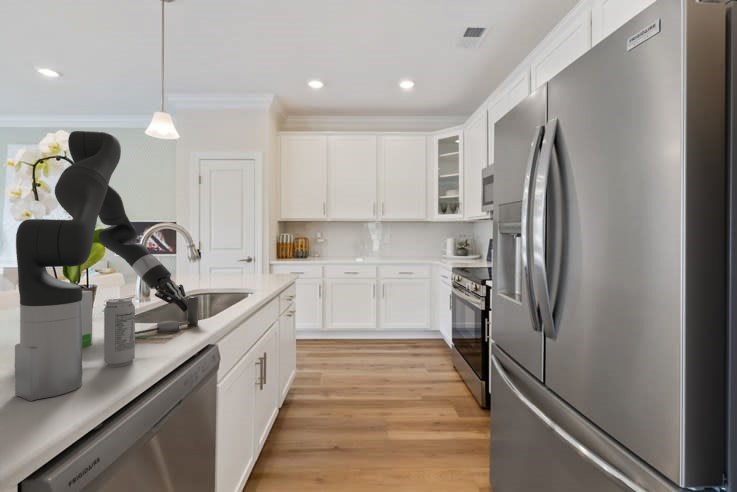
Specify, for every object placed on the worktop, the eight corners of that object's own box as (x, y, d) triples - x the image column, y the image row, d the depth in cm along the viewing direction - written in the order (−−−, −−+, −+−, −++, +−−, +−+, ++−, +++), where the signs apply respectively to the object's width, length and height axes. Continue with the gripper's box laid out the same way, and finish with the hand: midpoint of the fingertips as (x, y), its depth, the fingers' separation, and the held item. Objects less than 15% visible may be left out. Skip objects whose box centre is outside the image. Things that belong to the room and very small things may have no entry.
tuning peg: (191, 322, 123) (191, 295, 123) (202, 324, 120) (202, 297, 119) (129, 334, 107) (129, 303, 106) (140, 337, 103) (140, 306, 103)
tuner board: (164, 347, 100) (164, 342, 100) (115, 347, 100) (115, 342, 100) (198, 327, 122) (198, 323, 122) (158, 327, 122) (158, 323, 122)
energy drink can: (124, 357, 92) (125, 297, 91) (140, 361, 89) (140, 299, 89) (98, 365, 86) (98, 301, 86) (114, 369, 83) (114, 303, 83)
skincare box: (62, 358, 90) (62, 294, 90) (40, 356, 92) (40, 293, 91) (94, 348, 99) (94, 290, 98) (73, 346, 100) (73, 289, 100)
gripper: (146, 265, 114) (184, 305, 114) (171, 262, 128) (205, 298, 127) (129, 281, 115) (167, 322, 114) (156, 276, 128) (190, 313, 128)
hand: (187, 309), depth 121 cm, fingers closed
